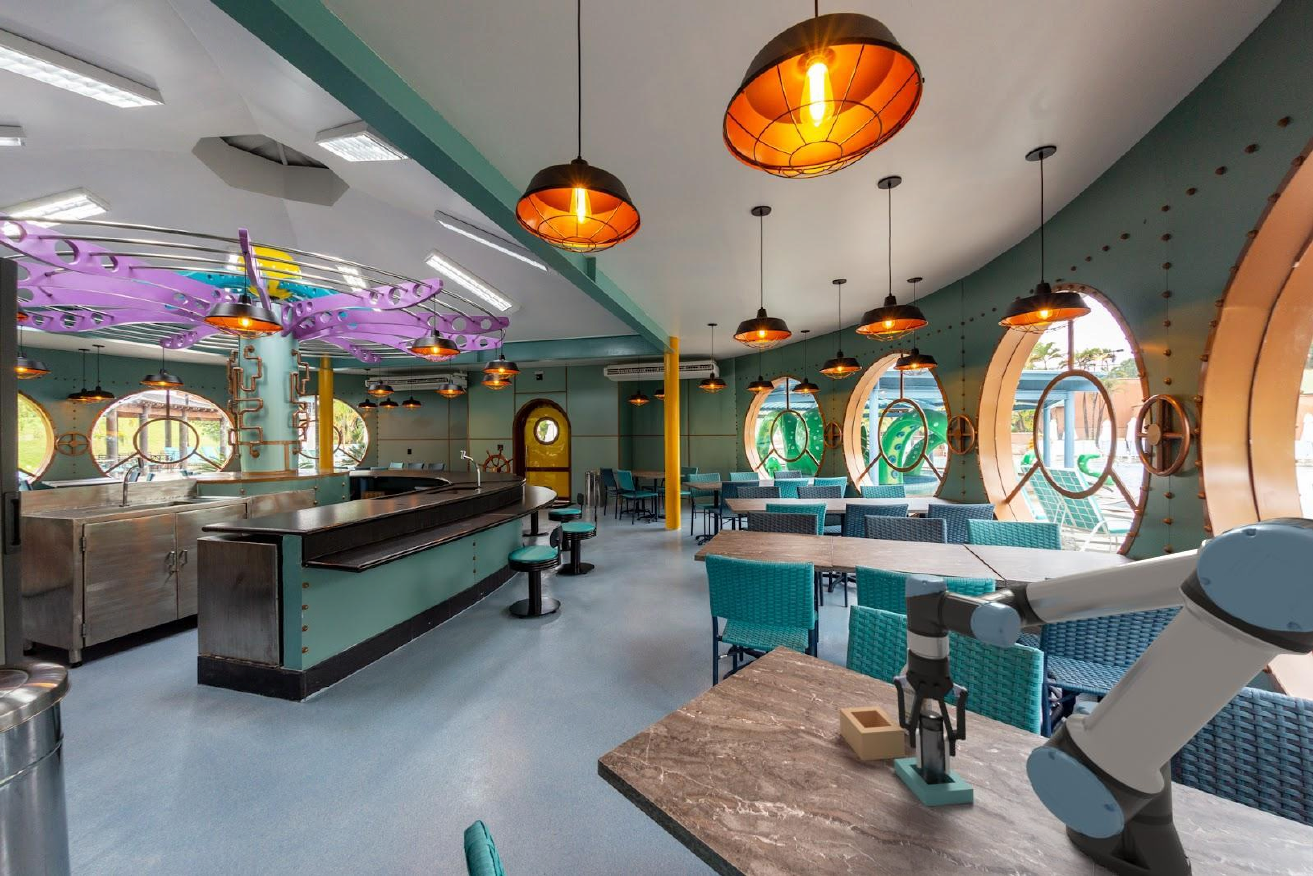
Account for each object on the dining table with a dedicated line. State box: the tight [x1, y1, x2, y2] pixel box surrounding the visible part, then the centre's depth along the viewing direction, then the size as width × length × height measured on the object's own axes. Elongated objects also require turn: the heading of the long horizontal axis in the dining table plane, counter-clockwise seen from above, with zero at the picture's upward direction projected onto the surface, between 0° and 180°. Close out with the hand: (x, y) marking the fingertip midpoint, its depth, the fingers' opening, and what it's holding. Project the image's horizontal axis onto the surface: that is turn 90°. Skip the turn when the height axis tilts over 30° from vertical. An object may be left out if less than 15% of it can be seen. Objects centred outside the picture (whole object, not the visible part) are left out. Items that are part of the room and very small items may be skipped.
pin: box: [919, 710, 946, 785], centre depth 95 cm, size 4×4×14 cm
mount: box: [893, 757, 975, 807], centre depth 95 cm, size 10×10×2 cm
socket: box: [839, 705, 906, 761], centre depth 109 cm, size 10×10×6 cm
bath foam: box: [899, 647, 933, 737], centre depth 114 cm, size 7×7×20 cm
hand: (932, 766), depth 95 cm, fingers closed on pin, 4 cm apart
